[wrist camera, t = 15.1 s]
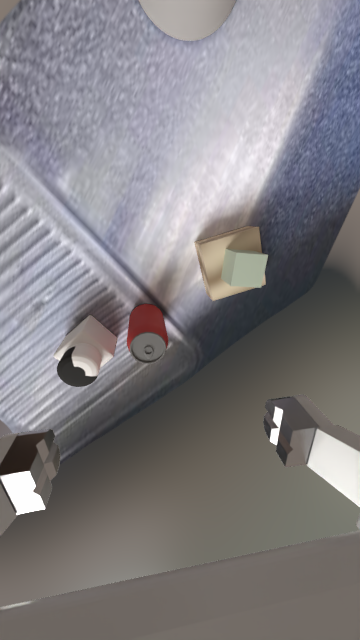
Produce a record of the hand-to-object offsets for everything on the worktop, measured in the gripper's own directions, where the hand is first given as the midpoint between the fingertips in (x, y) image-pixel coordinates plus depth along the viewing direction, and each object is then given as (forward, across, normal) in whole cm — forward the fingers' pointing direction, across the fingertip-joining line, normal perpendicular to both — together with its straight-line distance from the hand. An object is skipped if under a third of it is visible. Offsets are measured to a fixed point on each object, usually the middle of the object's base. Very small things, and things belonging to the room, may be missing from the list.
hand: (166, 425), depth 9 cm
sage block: (+32, -15, 0) cm, 36 cm away
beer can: (+37, +1, +11) cm, 39 cm away
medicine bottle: (+37, +12, +14) cm, 42 cm away
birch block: (+38, -15, +1) cm, 40 cm away
